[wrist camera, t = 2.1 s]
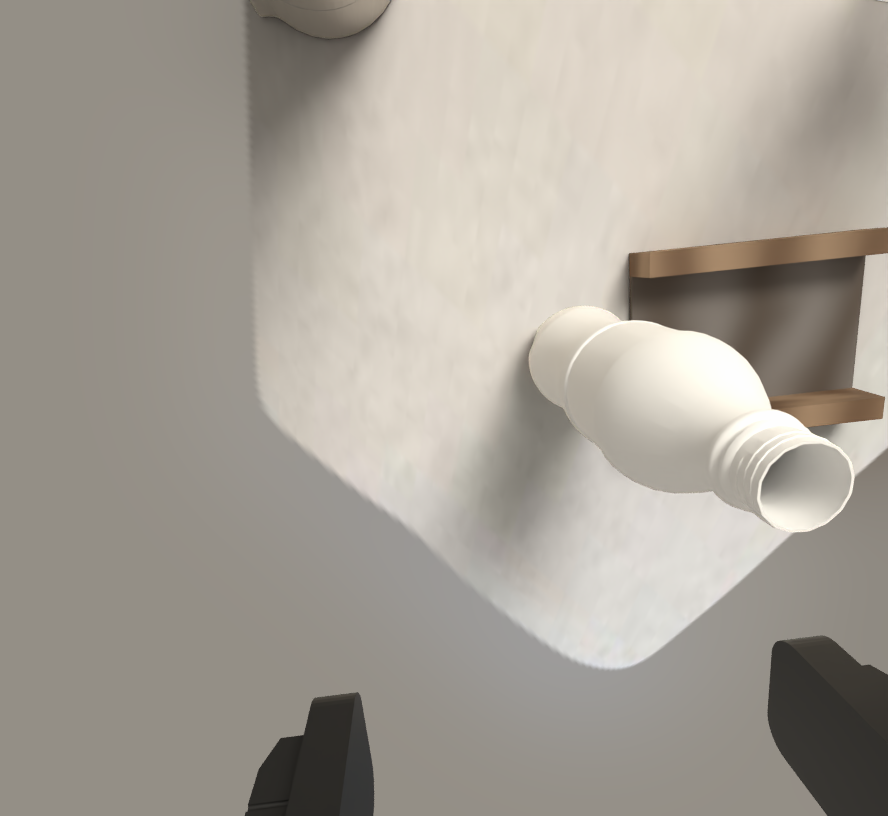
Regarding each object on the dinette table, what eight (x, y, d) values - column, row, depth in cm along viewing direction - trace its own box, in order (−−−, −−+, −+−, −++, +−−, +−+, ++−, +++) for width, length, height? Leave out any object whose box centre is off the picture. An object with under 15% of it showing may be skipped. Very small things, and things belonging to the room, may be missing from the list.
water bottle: (555, 417, 41) (754, 634, 17) (502, 342, 40) (641, 466, 15) (635, 361, 41) (961, 507, 16) (584, 282, 39) (865, 314, 15)
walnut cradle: (630, 430, 42) (649, 445, 39) (629, 253, 38) (649, 252, 35) (844, 406, 42) (882, 418, 39) (862, 229, 39) (905, 226, 35)
